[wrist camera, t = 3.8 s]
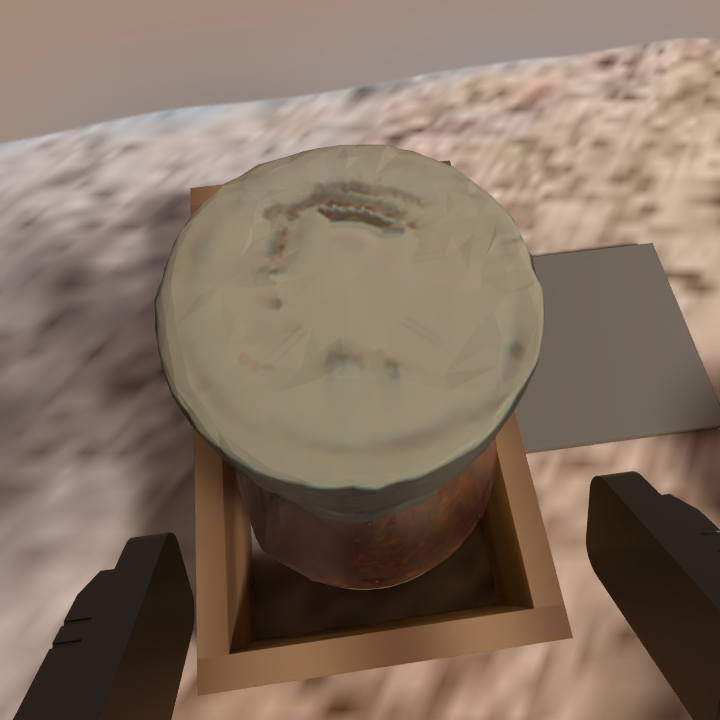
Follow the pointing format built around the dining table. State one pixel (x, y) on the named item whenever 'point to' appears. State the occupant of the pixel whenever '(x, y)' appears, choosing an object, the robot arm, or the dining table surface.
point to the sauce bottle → (352, 353)
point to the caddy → (377, 640)
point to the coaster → (612, 355)
